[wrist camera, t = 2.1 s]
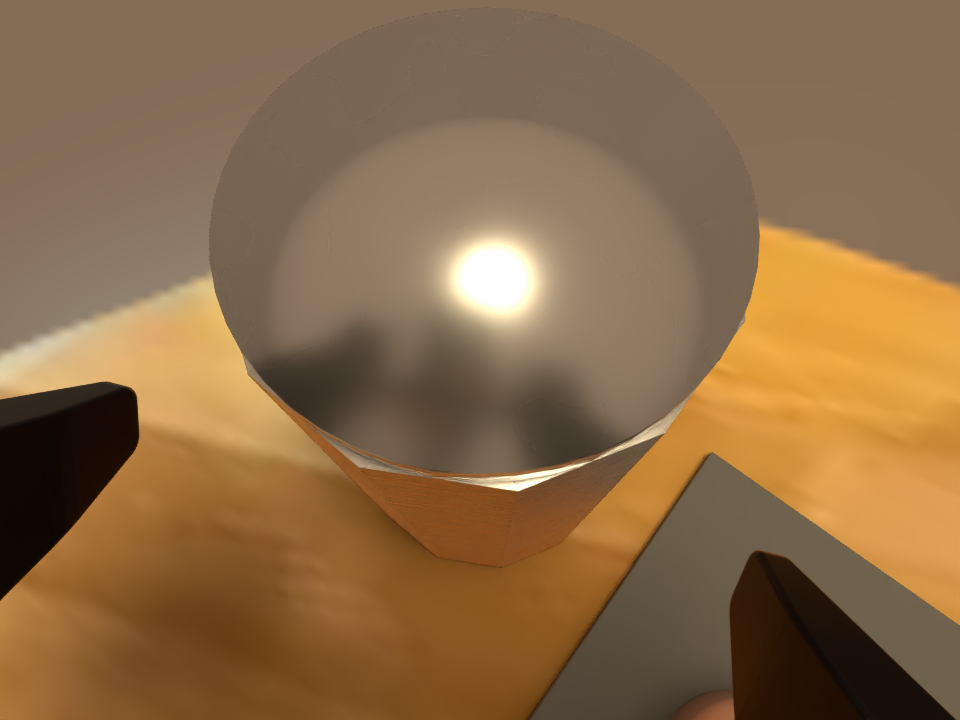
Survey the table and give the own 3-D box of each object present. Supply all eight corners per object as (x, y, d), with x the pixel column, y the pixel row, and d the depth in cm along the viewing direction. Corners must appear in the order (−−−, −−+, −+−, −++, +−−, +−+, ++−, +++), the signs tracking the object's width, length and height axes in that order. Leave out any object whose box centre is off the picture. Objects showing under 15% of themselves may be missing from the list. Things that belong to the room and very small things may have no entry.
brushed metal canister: (506, 616, 18) (537, 615, 6) (327, 463, 20) (94, 242, 8) (644, 428, 20) (858, 165, 8) (469, 304, 22) (447, -58, 10)
